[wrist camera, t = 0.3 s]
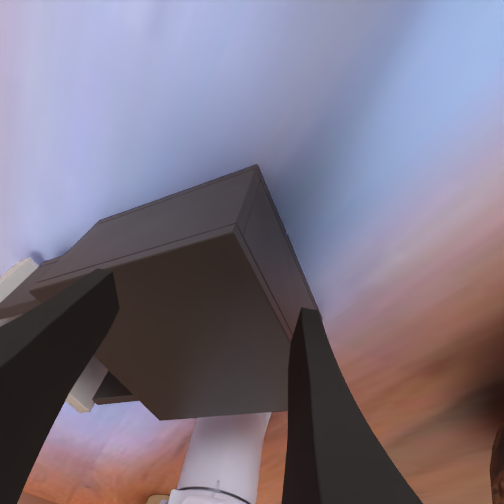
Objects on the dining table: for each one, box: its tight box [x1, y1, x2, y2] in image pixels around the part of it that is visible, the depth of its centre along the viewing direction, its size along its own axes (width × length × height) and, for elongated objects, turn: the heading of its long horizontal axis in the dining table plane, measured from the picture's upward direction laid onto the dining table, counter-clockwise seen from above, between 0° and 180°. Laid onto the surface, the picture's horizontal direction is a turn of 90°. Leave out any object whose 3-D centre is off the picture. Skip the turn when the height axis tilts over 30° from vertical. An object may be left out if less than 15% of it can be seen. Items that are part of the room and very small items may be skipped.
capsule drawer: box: [0, 255, 139, 413], centre depth 26 cm, size 16×12×6 cm
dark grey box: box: [29, 164, 322, 420], centre depth 22 cm, size 12×13×7 cm
